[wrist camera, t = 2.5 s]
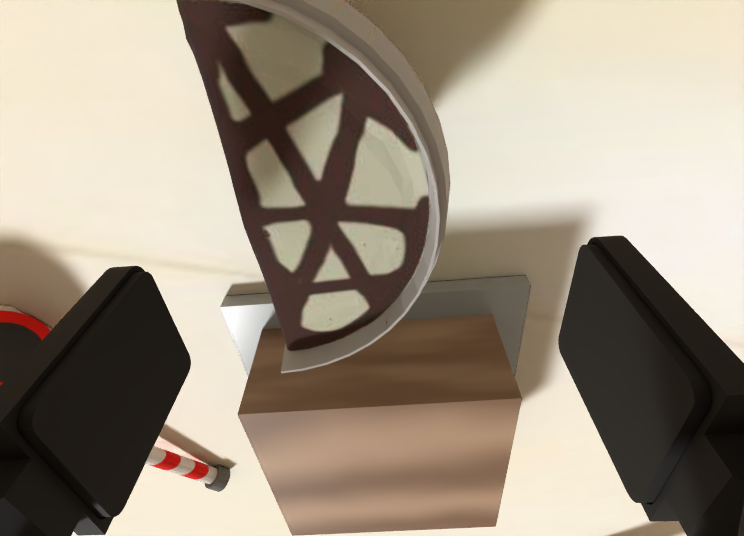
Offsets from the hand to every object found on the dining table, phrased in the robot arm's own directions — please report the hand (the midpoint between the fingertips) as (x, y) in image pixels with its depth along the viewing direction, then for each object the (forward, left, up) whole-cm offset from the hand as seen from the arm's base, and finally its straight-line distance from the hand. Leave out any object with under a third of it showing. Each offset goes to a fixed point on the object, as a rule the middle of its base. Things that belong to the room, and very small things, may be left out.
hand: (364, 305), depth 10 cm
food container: (-1, 0, -13) cm, 13 cm away
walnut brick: (+18, 0, -12) cm, 22 cm away
